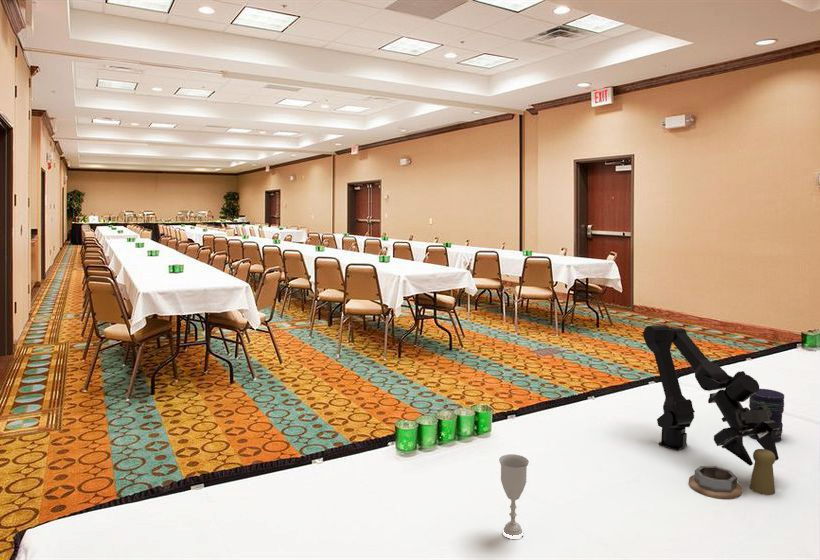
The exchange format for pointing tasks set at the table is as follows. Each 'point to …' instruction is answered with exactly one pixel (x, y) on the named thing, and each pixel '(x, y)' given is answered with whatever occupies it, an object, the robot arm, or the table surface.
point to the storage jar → (773, 402)
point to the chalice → (513, 485)
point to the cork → (763, 472)
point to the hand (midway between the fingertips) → (764, 462)
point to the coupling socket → (715, 482)
